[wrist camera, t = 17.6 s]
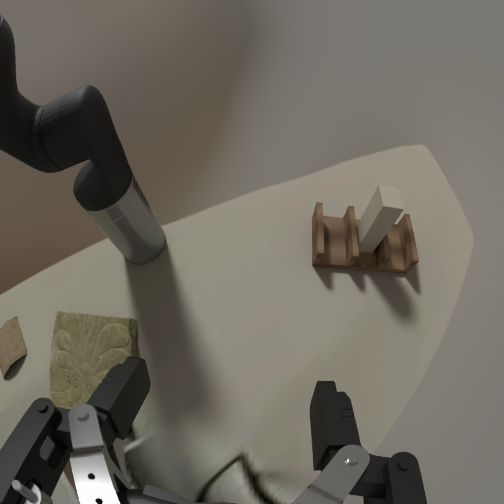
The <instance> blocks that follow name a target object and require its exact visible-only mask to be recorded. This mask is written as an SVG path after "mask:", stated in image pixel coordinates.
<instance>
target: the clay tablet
mask: <svg viewBox="0 0 504 504" xmlns="http://www.w3.org/2000/svg"><path fill="white" fill-rule="evenodd" d="M26 354H27V348H26V345H25V342H24V339H23V336H22V333H21V329H20V326H19V323H18V317H15V318H13V319H11V320H8V321H7V322H6V323H5V324H4V325H3V327H2V328H0V368H1V371H2V374H3V378H4V376H5V373H6V372H7V370H8V369H9V367H10V365H12V364H13V362H15V361H16V360H18V359H19V358H20V357H22V356H24V355H26Z"/></svg>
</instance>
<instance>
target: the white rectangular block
mask: <svg viewBox="0 0 504 504" xmlns="http://www.w3.org/2000/svg"><path fill="white" fill-rule="evenodd" d="M403 210H404V207H403V203H402V199H401V195H400V191H399V188H396V187H390V186H384V185H378V187H377V189H376V191H375V193H374V195H373V197H372V199H371V201H370V202H369V204H368V206H367V208H366V210H365V212H364V214H363V216H362V218H361V219H360V221H359V223H358V225H357V227H356V229H357V239H358V249H359V252H365V253H373V251H374V250H375V249H376V247H377V246H378V245H379V243H380V242H381V241H382V239H383V238H384V237H385V235H386V234H387V233H388V231H389V230H390V228H391V227H392V226H393V224H394V223H395V221H396V220H397V219H398V217H399V216H400V214H401V213H402V211H403Z"/></svg>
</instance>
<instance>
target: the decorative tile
mask: <svg viewBox="0 0 504 504" xmlns="http://www.w3.org/2000/svg"><path fill="white" fill-rule="evenodd" d="M136 333H137V320H134V319H130V318H121V317H108V316H99V315H91V314H77V313H68V312H60V311H58V312H57V313H56V318H55V324H54V331H53V338H52V347H51V363H50V396H51V401H52V402H53V403H54V405H55V407H59V408H66V409H71V408H72V407H74V406H75V405H78V404H85V403H86V402H87V401H88V400H89V398H90V397H91V395H92V394H93V392H94V391H95V390H96V388H97V387H98V385H99V384H100V383H101V382H102V380H103V378H104V377H106V374H107V373H108V371H109V370H110V369H111V368H112V367H114V366H115V365H117V364H118V363H120V364H123V363H124V361H125V360H126V359H127V357H128V356H134V357H136V348H135V347H136V346H135V345H136Z"/></svg>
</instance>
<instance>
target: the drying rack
mask: <svg viewBox="0 0 504 504" xmlns="http://www.w3.org/2000/svg"><path fill="white" fill-rule="evenodd" d="M359 221H360V220H355V212H354V207H353V206H348V209H347V211H346V213H345V215H344V218H337V217H328V216H323V208H322V203H318V202H317V203H316V207H315V210H314V214H313V217H312V266H320V267H334V268H347V269H361V270H374V271H388V272H403V273H406V272H407V271H408V270H410V269H411V268H412V267H413V266H414V265H415V264H416V263H417V262H418V261H419V260H418V254H417V248H416V243H415V238H414V233H413V228H412V224H411V220H410V215H409V214H405V215H404V216H403V217H402V219H401V220H400V222H399V223H398V224H397V225H395V224H393V226H392V227H391V228H390V230H389V231H388V233H387V234H386V235H385V237H384V238H383V239H382V241H381V242H380V243H379V245H378V246H377V247H376V249H375V250H374V251H373V253H365V252H359V249H358V239H357V229H356V227H357V225H358V223H359Z"/></svg>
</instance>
